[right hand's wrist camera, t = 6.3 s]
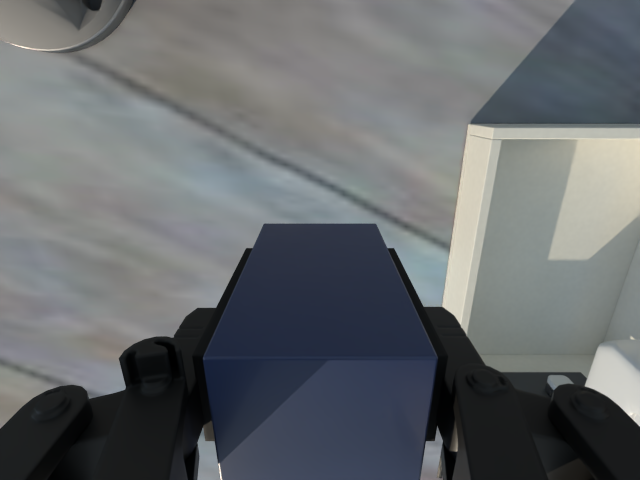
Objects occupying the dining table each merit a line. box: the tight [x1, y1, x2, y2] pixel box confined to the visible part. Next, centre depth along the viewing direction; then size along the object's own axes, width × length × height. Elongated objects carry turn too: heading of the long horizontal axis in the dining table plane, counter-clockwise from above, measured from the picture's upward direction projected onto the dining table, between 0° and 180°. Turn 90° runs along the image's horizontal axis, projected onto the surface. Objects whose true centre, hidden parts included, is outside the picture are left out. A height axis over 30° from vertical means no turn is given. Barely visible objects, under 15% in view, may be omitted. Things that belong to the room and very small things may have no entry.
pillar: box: [203, 224, 438, 480], centre depth 11 cm, size 4×4×8 cm
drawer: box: [442, 124, 640, 397], centre depth 30 cm, size 24×18×8 cm
